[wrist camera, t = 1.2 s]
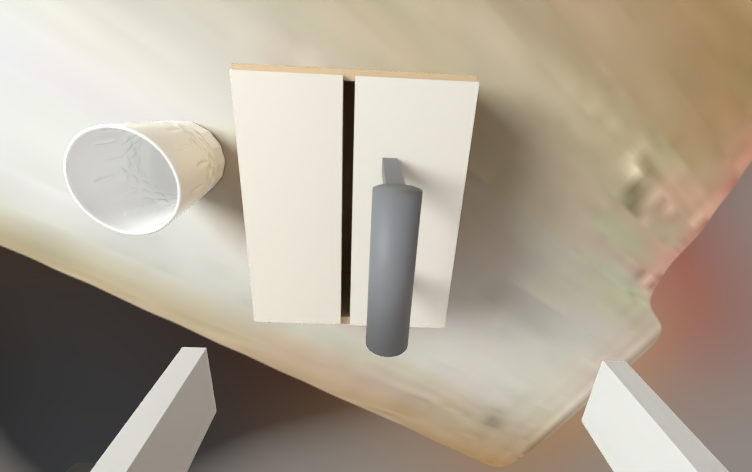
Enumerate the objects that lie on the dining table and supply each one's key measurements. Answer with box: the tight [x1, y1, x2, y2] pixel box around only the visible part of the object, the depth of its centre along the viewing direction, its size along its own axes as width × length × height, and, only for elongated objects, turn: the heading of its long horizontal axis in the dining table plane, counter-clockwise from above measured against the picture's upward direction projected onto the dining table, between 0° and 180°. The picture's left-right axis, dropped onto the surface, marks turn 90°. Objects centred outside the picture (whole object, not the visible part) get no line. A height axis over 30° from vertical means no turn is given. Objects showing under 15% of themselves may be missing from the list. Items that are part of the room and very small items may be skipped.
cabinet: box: [229, 63, 477, 324], centre depth 31 cm, size 20×16×10 cm
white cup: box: [64, 121, 225, 235], centre depth 30 cm, size 8×8×10 cm
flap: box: [350, 76, 479, 357], centre depth 23 cm, size 19×8×10 cm, turn 177°
